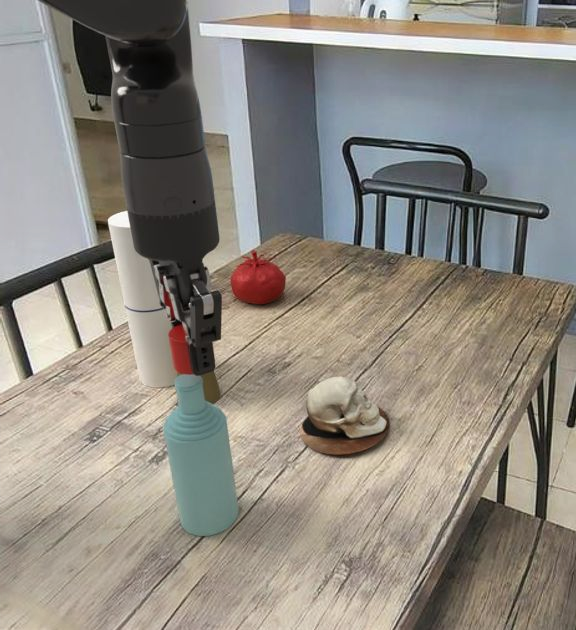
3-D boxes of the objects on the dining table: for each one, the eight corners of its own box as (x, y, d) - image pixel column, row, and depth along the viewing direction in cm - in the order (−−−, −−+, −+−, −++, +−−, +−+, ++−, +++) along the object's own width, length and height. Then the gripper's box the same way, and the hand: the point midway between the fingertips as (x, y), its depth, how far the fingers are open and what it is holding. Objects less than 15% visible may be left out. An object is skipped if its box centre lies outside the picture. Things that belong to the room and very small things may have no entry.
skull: (402, 400, 97) (390, 381, 87) (384, 472, 93) (369, 461, 84) (323, 384, 99) (302, 364, 90) (303, 454, 96) (280, 441, 86)
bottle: (179, 541, 74) (152, 401, 66) (181, 500, 80) (156, 366, 71) (239, 530, 76) (221, 392, 67) (237, 491, 81) (220, 359, 73)
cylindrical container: (151, 393, 99) (120, 231, 87) (131, 372, 103) (99, 216, 92) (197, 375, 103) (173, 219, 91) (176, 357, 108) (151, 205, 96)
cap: (223, 364, 69) (218, 331, 67) (187, 379, 66) (182, 345, 64) (201, 350, 71) (196, 318, 70) (166, 364, 69) (160, 331, 67)
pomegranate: (262, 315, 121) (258, 267, 116) (221, 301, 125) (215, 254, 121) (298, 294, 128) (295, 248, 124) (258, 282, 133) (253, 237, 128)
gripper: (242, 213, 58) (260, 383, 66) (185, 172, 68) (206, 324, 76) (152, 230, 54) (182, 408, 62) (105, 184, 64) (136, 342, 72)
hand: (195, 361), depth 69 cm, fingers closed on cap, 4 cm apart
